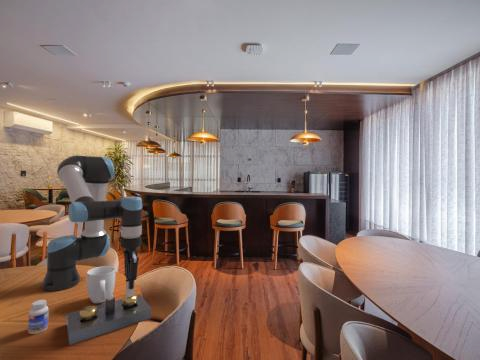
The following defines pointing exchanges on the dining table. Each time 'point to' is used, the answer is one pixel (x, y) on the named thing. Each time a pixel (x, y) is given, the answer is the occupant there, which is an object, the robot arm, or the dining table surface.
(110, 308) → the pot post
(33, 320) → the pill bottle
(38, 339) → the dining table surface
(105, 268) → the mug
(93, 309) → the near knob
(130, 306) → the far knob
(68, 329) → the mount plate
